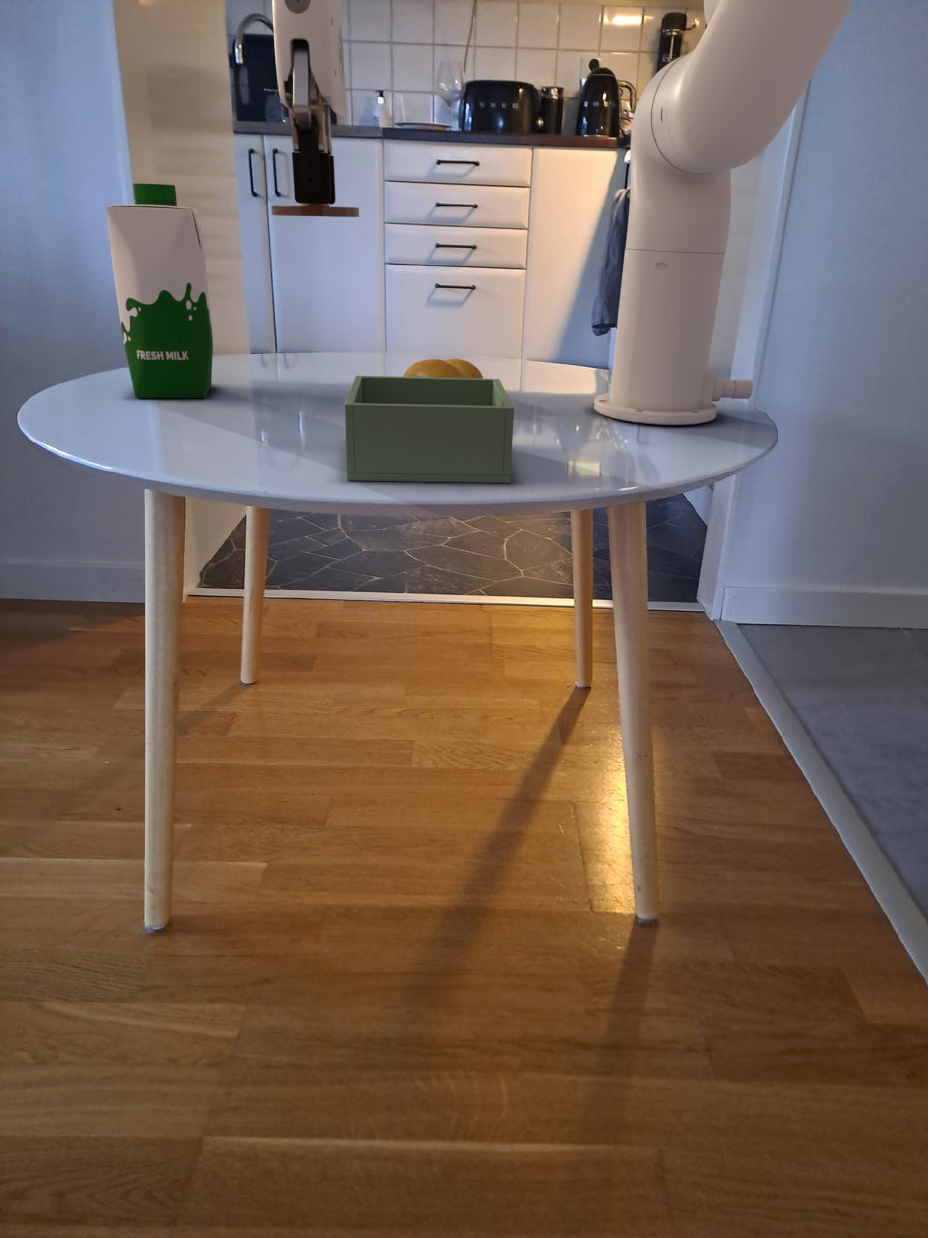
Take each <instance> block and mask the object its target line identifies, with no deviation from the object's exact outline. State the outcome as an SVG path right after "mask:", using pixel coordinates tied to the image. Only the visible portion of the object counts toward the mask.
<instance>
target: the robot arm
mask: <svg viewBox="0 0 928 1238" xmlns="http://www.w3.org/2000/svg"><path fill="white" fill-rule="evenodd" d="M853 2H854V0H703V13H704V19H705V24H706V28H705V30H704V32H703V34H702V36H701V38H700V39H699V42H698V43H697V45H696V47H695V48H694V49H693V50H691V51H689V52H687V53H684V54H683V55H681V56H679V57H677V58H676V59H674V60H672V61H670V62H669V63H667V64H666V65H664V66H663V67H662V68H660V70H659V71H658V72H656V73H655V74H654V76H653V77H652V78H651V79H650V80H649V82H648V83H647V85H646V87H645V88H644V90H643V91H642V93H641V95H640V97H639V99H638V102H637V104H636V108H635V111H634V115H633V119H632V125H631V131H630V132H631V133H630V191H629V207H628V208H629V210H628V219H627V221H628V222H627V231H626V241H625V248H624V257H623V267H622V278H621V285H620V296H619V304H618V312H617V313H618V315H617V322H616V323H617V324H616V334H615V342H614V344H615V345H614V352H613V353H614V354H613V362H612V370H611V371H612V372H611V382H610V391H609V392H605V393H602V394H599V395H597V396H596V397H595V398H594V402H593V409H594V410H595V412H597V413H599V414H601V415H603V416H606V417H609V418H611V419H615V420H621V421H626V422H632V423H638V424H639V423H640V424H648V425H660V426H661V425H663V426H686V425H699V424H704V423H709V422H711V421H714V419H716V418H717V413H718V406H717V404H715V403H713V402H719V401H720V400H722V399H723V398H726V399H732V400H749V399H750V398H751V396H752V394H753V388H754V387H753V385H754V384H753V381H752V380H751V379H732V378H731V377H728V378H727V377H722V376H720V375H719V376H717V373H715V372H713V371H712V370H710V369H708V368H709V362H710V354H711V348H712V342H713V335H714V330H715V329H714V328H715V322H716V315H717V308H718V303H719V295H720V288H721V282H722V275H723V270H724V263H725V258H726V257H725V255H726V253H727V247H728V241H729V233H730V224H731V213H732V211H731V210H732V174H731V173H732V172H731V171H732V169H736V168H738V167H741V166H744V165H746V164H748V163H750V162H751V161H753V160H754V159H755V158H757V157H758V156H759V155H760V154H762V153H763V152H764V151H765V150H766V149H767V148H768V147H769V146H770V144H771V143H772V142H773V141H774V139H776V137H777V135H778V134H779V132H780V131H781V130H782V128H783V126H784V125H785V124H786V122H787V120H788V119H789V118H790V116H791V114H792V112H793V110H794V109H795V107H796V105H797V103H798V102H799V100H800V98H801V97H802V95H803V93H804V92H805V89H806V88H807V86H808V84H809V82H810V80H811V79H812V77H813V76H814V73H815V72H816V70H817V68H818V66H819V64H820V63H821V61H822V59H823V57H824V55H825V54H826V52H827V50H828V48H829V47H830V45H831V43H832V41H833V39H834V38H835V37H836V35H837V32H838V31H839V29H840V27H841V25H842V23H843V22H844V20H845V18H846V16H847V14H848V12H849V10H850V9H851V6H852V4H853ZM271 3H272V4H271V5H272V6H271V7H272V27H273V28H272V29H273V40H274V57H275V68H276V79H277V80H276V81H277V87H278V94H279V99H280V102H281V103H282V104H283V105H284V106H285V107H286V108H287V109H289V110H290V121H291V123H290V124H291V140H292V142H291V143H292V150H293V152H291V159H292V177H293V193H294V201H295V202H296V203H297V204H301V203H302V204H329V203H330V205H334V204H335V203H336V200H337V199H336V176H335V157H334V155H333V144H332V123H331V122H332V119H331V110H332V111H333V112H334V113H335V115H336V116H337V117H339V118H343V117H344V116H345V115H346V114H347V111H348V108H347V92H346V75H345V60H344V59H345V58H344V57H345V56H344V43H343V42H344V39H343V24H342V9H341V0H271ZM325 135H326V136H327V153H325V152H326V138H325ZM320 152H323V153H320Z"/></svg>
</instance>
